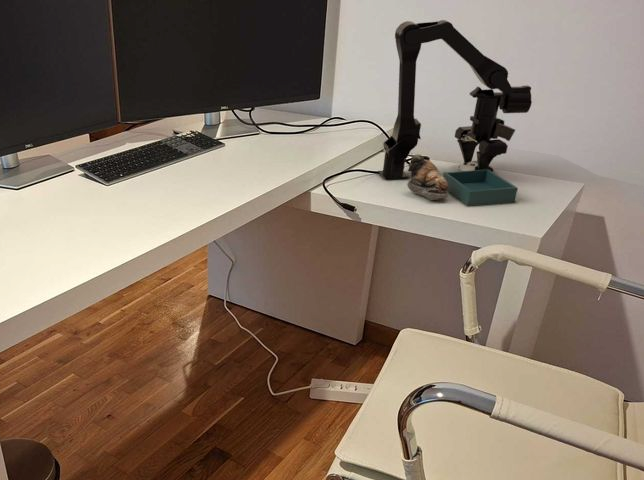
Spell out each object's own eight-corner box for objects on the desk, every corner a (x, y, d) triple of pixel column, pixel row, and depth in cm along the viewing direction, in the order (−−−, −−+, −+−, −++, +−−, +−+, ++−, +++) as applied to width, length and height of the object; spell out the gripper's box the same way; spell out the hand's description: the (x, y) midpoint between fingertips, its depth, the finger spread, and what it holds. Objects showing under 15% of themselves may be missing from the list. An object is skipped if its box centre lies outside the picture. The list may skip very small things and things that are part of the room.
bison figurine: (452, 199, 172) (459, 161, 167) (434, 205, 169) (441, 166, 164) (415, 187, 181) (420, 150, 175) (397, 193, 178) (402, 156, 172)
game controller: (473, 177, 182) (463, 158, 183) (459, 187, 187) (450, 169, 188) (497, 170, 186) (487, 152, 187) (482, 180, 191) (473, 162, 192)
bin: (441, 186, 181) (443, 172, 179) (485, 182, 182) (488, 169, 179) (467, 206, 168) (470, 191, 166) (514, 202, 169) (518, 187, 167)
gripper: (533, 120, 171) (519, 179, 180) (497, 104, 187) (485, 159, 195) (491, 123, 171) (479, 182, 179) (458, 106, 186) (449, 161, 195)
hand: (474, 170), depth 187 cm, fingers closed on game controller, 8 cm apart
